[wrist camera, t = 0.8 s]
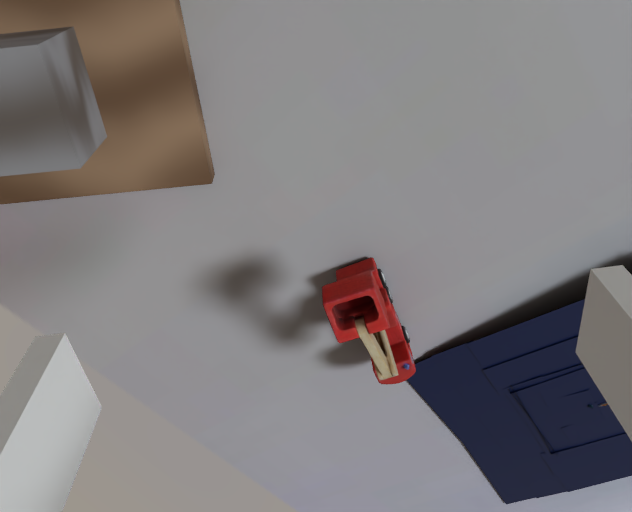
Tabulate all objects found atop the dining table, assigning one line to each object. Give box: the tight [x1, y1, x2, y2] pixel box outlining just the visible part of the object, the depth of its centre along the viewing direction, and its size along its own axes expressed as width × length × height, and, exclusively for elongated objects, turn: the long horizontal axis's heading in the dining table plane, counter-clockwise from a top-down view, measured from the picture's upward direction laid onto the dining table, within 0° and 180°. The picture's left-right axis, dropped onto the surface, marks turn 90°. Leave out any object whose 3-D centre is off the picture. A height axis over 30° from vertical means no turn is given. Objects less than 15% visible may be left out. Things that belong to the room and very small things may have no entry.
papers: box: [407, 299, 632, 504], centre depth 48 cm, size 24×30×4 cm
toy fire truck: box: [322, 258, 416, 384], centre depth 39 cm, size 3×14×10 cm, turn 22°
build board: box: [0, 0, 215, 204], centre depth 31 cm, size 14×18×6 cm
